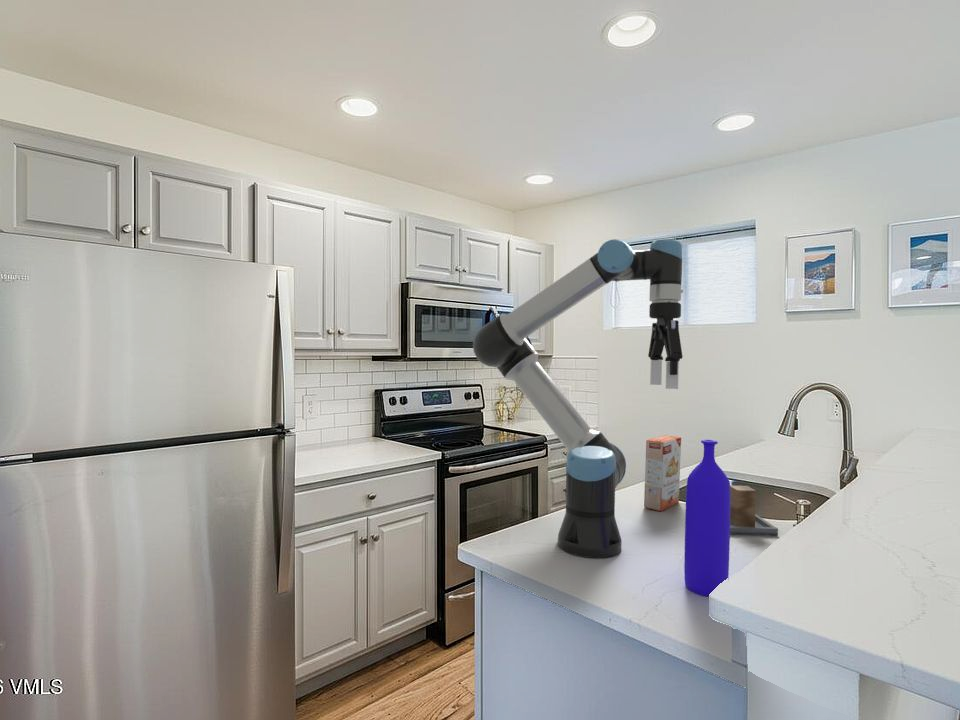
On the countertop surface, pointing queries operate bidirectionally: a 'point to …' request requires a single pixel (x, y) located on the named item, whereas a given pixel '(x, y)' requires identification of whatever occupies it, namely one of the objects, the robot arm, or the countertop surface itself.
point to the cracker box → (662, 472)
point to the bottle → (707, 525)
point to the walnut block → (742, 506)
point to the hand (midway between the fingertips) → (663, 386)
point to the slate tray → (755, 528)
